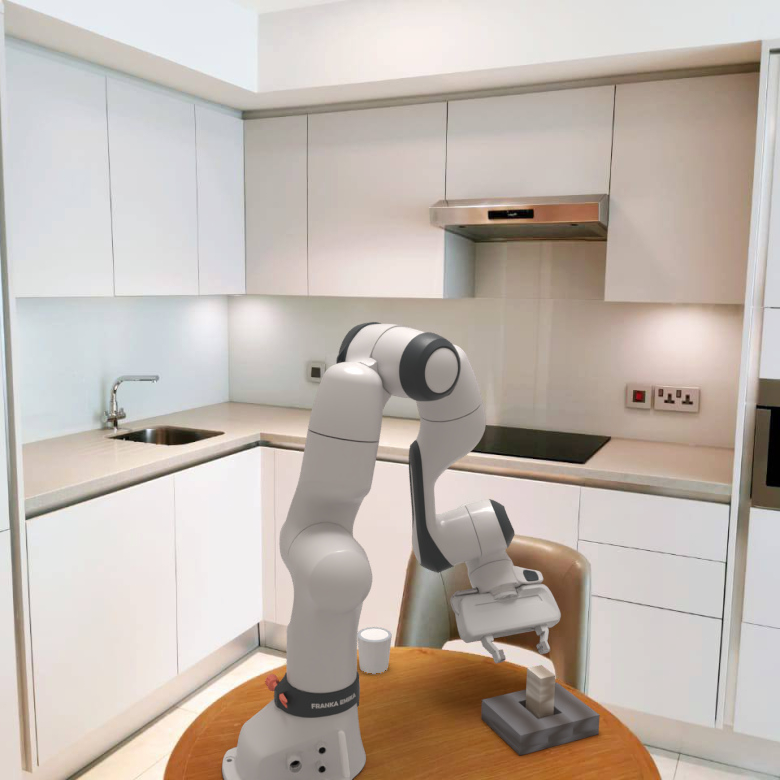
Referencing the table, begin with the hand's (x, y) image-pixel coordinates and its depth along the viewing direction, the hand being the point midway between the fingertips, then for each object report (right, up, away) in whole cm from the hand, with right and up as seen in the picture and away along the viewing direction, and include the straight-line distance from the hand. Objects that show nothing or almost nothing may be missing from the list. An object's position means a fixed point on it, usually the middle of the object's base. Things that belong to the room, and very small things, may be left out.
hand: (523, 657), depth 139 cm
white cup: (-27, -8, +17) cm, 33 cm away
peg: (+2, -10, -4) cm, 11 cm away
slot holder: (+2, -11, -3) cm, 12 cm away
